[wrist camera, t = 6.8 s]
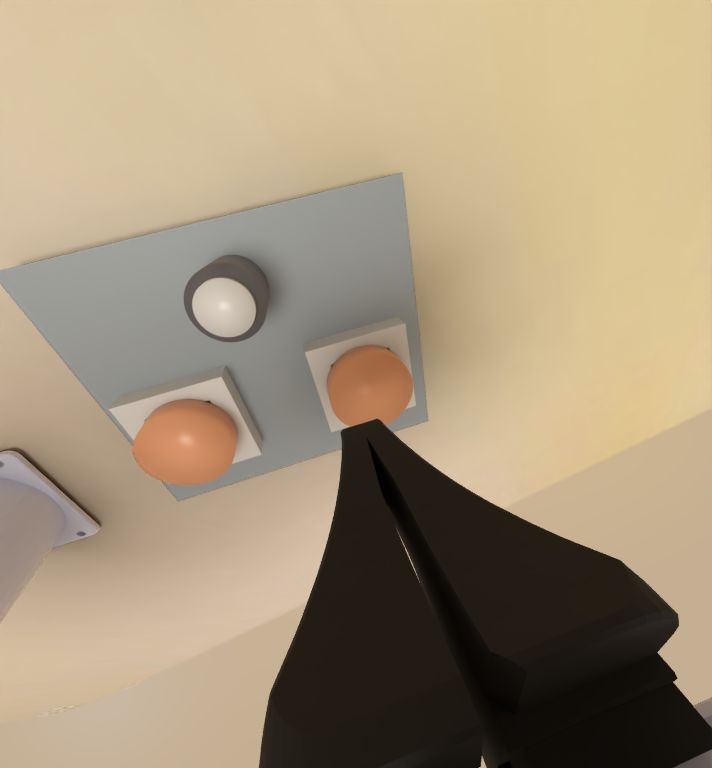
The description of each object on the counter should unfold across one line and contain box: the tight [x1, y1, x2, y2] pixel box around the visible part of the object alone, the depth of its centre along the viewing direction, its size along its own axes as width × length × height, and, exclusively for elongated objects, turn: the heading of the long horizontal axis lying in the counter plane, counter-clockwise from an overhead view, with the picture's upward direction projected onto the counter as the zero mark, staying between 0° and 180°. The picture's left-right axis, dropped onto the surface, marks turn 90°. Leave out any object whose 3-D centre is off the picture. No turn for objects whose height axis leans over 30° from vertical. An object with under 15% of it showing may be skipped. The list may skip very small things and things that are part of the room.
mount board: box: [0, 173, 428, 501], centre depth 17 cm, size 18×15×3 cm
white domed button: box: [184, 255, 269, 342], centre depth 13 cm, size 3×3×4 cm
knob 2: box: [327, 345, 413, 427], centre depth 18 cm, size 5×5×4 cm
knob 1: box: [133, 399, 238, 485], centre depth 17 cm, size 5×5×4 cm
